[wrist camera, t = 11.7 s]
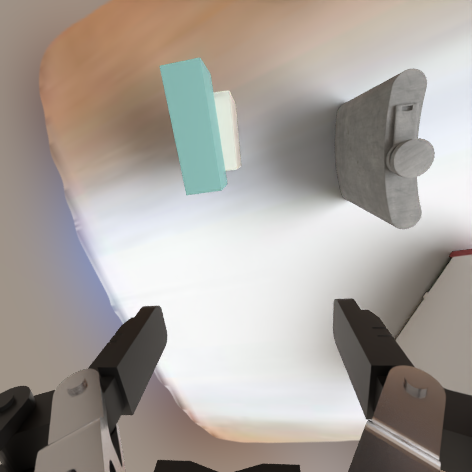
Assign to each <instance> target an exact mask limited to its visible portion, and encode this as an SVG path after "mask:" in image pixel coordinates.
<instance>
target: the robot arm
mask: <svg viewBox="0 0 472 472" xmlns="http://www.w3.org/2000/svg"><path fill="white" fill-rule="evenodd" d="M333 334H334V339H335V343H336V345H337V348H338V350H339V353H340V355H341V358H342V360H343V363H344V365H345V368H346V370H347V373H348V375H349V378H350V380H351V383H352V385H353V387H354V390H355V392H356V395H357V397H358V400H359V402H360V405H361V407H362V410H363V412H364V415H365V417H366V419H372V420H371V421H370V420H368V421H367V423H366V425H365V428H364V430H363V433H362V436H361V438H360V441H359V444H358V447H357V449H356V452H355V455H354V457H353V460H352V463H351V465H350V468H349V471H348V472H440V470H443V471H446V472H472V395H468V394H464V393H460V392H456V391H452V390H448V389H446V388H443V387H442V385H441V384H440V383H439V382H438V381H437V380H436V379H435V378H434V377H433V376H431V375H430V374H428V373H426V372H425V371H423V370H420V369H418V368H415V367H414V365H413V364H412V363H411V361H410V360H409V358H408V357H407V356H406V354H405V353H404V352H403V350H402V349H401V347H400V346H399V345H398V343H397V342H396V340H395V339H394V338H393V337H392V336H391V334H390V332H389V331H388V329H386V327H385V325H384V324H383V322H382V321H381V320H380V318H379V317H377V316H376V315H375V314H373V313H372V312H370V311H369V310H361V309H360V308H359V306H358V305H357V303H356V302H355V300H354V299H335V300H334V311H333ZM166 343H167V330H166V326H165V322H164V318H163V313H162V309H161V307H160V306H144V307H142V308H141V309H140V311H139V312H138V313H137V315H136V316H135V317H134V318H131V319H129V320H128V321H127V322H125V323H124V324H123V325H122V326H121V327H120V328H119V329H118V331H117V332H116V333H115V335H114V336H113V337H112V338H111V340H110V342H109V343H108V344H107V345H106V346H105V347H104V349H103V350H102V351H101V353H100V354H99V355H98V356H97V358H96V359H95V360H94V362H93V363H92V364H91V365H90V367H89V368H88V369H83V370H80V371H78V372H75V373H73V374H72V375H70V376H69V377H67V378H66V379H65V380H63V381H62V382H61V383H60V384H59V386H58V387H57V388H56V390H53V391H50V392H46V393H42V394H39V395H35V396H33V394H32V392H31V390H30V389H29V387H27V386H18V387H14V388H11V389H9V390H7V391H5V392H3V393H1V394H0V461H1V463H2V464H1V465H0V472H126V469H125V463H124V457H123V451H122V446H121V439H120V433H119V428H118V424H117V422H118V420H119V418H120V416H121V415H133V414H134V411H135V409H136V407H137V405H138V403H139V401H140V399H141V397H142V395H143V393H144V391H145V388H146V386H147V384H148V382H149V380H150V378H151V376H152V374H153V372H154V369H155V367H156V365H157V363H158V361H159V359H160V357H161V355H162V353H163V350H164V348H165V346H166ZM154 472H217V471H215V470H212V469H210V468H207V467H204V466H202V465H199V464H197V463H194V462H192V461H172V460H171V461H170V460H158V461H157V463H156V467H155V470H154ZM235 472H300V465H286V464H260V465H256V466H253V467H249V468H246V469H243V470H240V471H235Z"/></svg>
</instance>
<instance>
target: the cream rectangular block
mask: <svg viewBox="0 0 472 472" xmlns="http://www.w3.org/2000/svg"><path fill="white" fill-rule="evenodd" d="M214 100H215V106H216V113H217V119H218V126H219V133H220V139H221V146H222V152H223V159H224V165H225V171H229V170H237V169H238V168H240V167H241V156H240V145H239V134H238V124H237V113H236V103H235V101H234V99H233V97H232V95H231V93H230V91H229V90H228V91H221V92H214Z"/></svg>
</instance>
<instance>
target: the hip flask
mask: <svg viewBox="0 0 472 472" xmlns="http://www.w3.org/2000/svg"><path fill="white" fill-rule="evenodd" d="M426 87H427V80H426V77H425V75H424V73H423V72H422V71H420V70H418V69H408V70H405V71H404V72H402V73H400V74H398V75H396V76H394V77H392V78H391V79H389V80H387V81H385V82H383V83H381V84H380V85H378V86H376V87H374V88H372V89H370V90H369V91H367V92H365V93H363V94H361V95H359V96H358V97H356V98H354V99H352V100H350V101H348V102H347V103H345V104H343V105H342V106H340V108H339V109H338V111H337V117H336V125H335V161H336V171H337V177H338V182H339V187H340V190H341V194H342V196H343V198H344V199H346V200H348V201H350V202H352V203H353V204H355V205H357V206H359V207H361V208H362V209H364V210H366V211H368V212H370V213H371V214H373V215H375V216H377V217H379V218H380V219H382V220H384V221H386V222H388V223H389V224H391V225H393V226H395V227H397V228H399V229H408V228H410V227H412V226H414V225H415V224H416V223H417V222H418V221H419V219H420V217H421V207H420V202H419V196H418V187H417V176H420V175H421V174H423V173H424V172H426V171H427V170H428V169H429V168H430V166H431V165H432V162H433V160H434V154H435V152H434V148H433V146H432V145H431V143H429V142H428V141H426V140H425V139H421V138H420V139H418V131H419V123H420V116H421V110H422V105H423V100H424V96H425V92H426Z"/></svg>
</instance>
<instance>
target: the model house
mask: <svg viewBox="0 0 472 472" xmlns="http://www.w3.org/2000/svg"><path fill="white" fill-rule="evenodd" d="M449 257H452V259H451V261H450V262H449V263H448V265H447V266H446V268H445V269H444V271H443V272H442V274H441V275H440V276H439V278H438V279H437V281H436V282H435V284H434V285H433V287H432V288H431V289H430V291H429V292H426V293H425V294H424V296H423V298H424V300H423V301H422V302H421V304H420V305H419V307H418V308H417V310H416V311H415V312H414V314H413V315H412V317H411V318H410V320H409V321H408V323H407V324H406V325H405V327H404V328H403V330H402V331H401V333H400V334H399V336H398V337H397V338H396V342H397V343H398V345H399V346H400V347H401V349H402V350H403V352H404V353H405V354H406V356H407V357H408V358H409V360H410V361H411V363H412V364H413V365H414V367H415V368H418V369H420V370H423V371H425V372H426V373H428V374H430V375H431V376H433V377H434V378H435V379H436V380H437V381H438V382H439V383H440V384H441V385H442V387H443V388H446V389H448V390H452V391H456V392H460V393H464V394H468V395H472V249H467V250H460V251H452V253H451V254H450V256H449Z"/></svg>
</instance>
